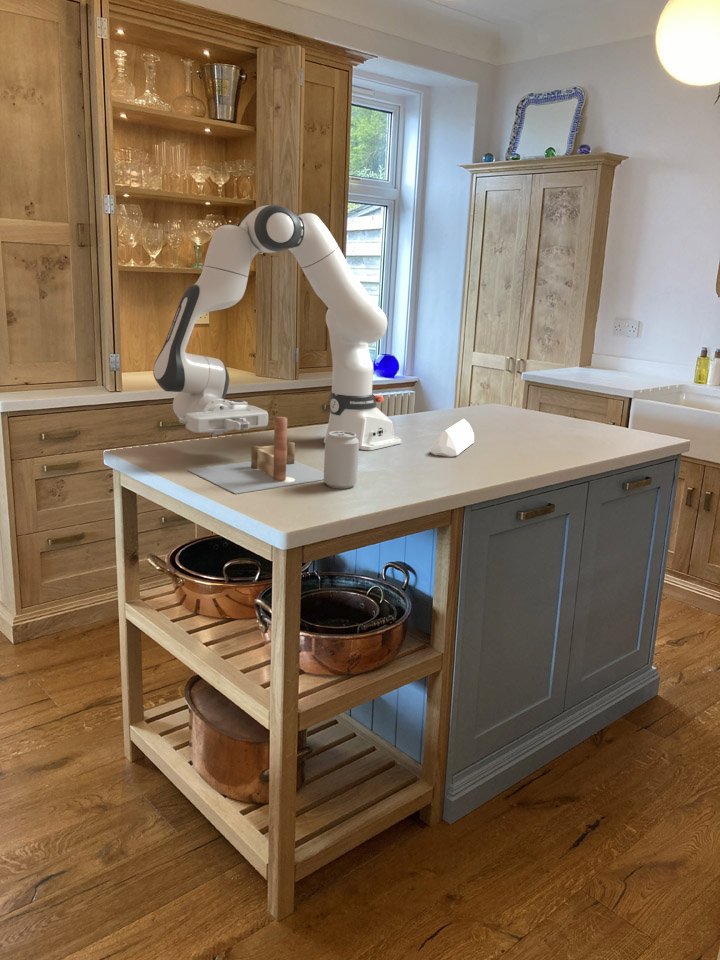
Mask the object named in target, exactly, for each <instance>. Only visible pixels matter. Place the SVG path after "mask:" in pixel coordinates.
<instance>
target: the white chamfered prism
mask: <svg viewBox="0 0 720 960" xmlns="http://www.w3.org/2000/svg"><path fill="white" fill-rule="evenodd" d="M474 443H475V433H474V431H473V428H472V426H471V425H470V423H469V422H468V420H466V419H465V418H463V419H461V420H460V421H458V422H456V423H455V424H453V425H451V426H450V427H449V428H446V429H445V430H443V431H442V432H441V433H439V434H438V435H437V437H436V438H435V440H434V441H433V443H432V444H431V447H430V451H429V452H430V453H431V454H433V455H435V456H439V457H441V456H442V457H448V458H453V457H457V456H458V455H460V454H461V453H463V451H465V450H466V449H467V448H468V447H470V446H471V445H472V444H474Z"/></svg>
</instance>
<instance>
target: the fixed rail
mask: <svg viewBox="0 0 720 960" xmlns="http://www.w3.org/2000/svg"><path fill="white" fill-rule="evenodd" d="M295 445H296V443H295V442H294V441H293V442H292V441H287V454H286V464H294V461H295V453H296V452H295V451H296V450H295V449H296V448H295V447H296V446H295ZM258 449H263V450H265V451H267V452H269V453H271V454H273V455H274V444H273V445H264V446H260V445H253V446H251V450H250V451H251V452H250V454H251V455H250V456H251V458H250V459H251V460H250V461H251V468H253V469H258V468H257V458H258Z"/></svg>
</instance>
